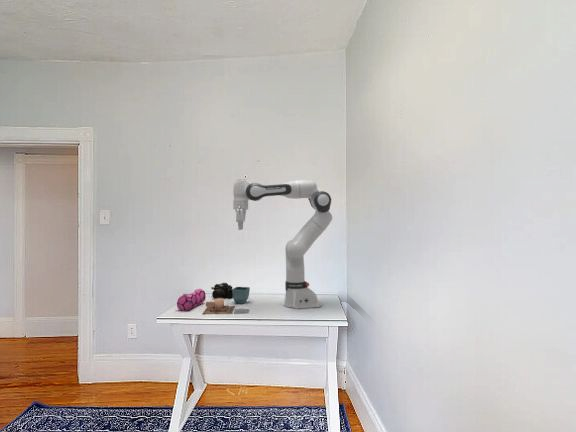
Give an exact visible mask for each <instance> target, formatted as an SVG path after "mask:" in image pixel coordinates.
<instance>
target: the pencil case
mask: <svg viewBox="0 0 576 432" xmlns="http://www.w3.org/2000/svg"><path fill="white" fill-rule="evenodd" d="M206 298H207V297H206V292H205V290H203V289H202V288H197V289H195V290H194V291H193V292H190V293H183V294H182V295H181V296H179V298H178V299H177V302H176V307H177V309H178V310H179V311H181V310H182V311H181V312H187V311H190V310H191V309H194V308H195V307H197V306H199V305H201V304H202V303H204V302H206Z"/></svg>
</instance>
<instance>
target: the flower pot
mask: <svg viewBox="0 0 576 432" xmlns="http://www.w3.org/2000/svg"><path fill="white" fill-rule="evenodd" d="M250 289H251V288H250V287H248V286H236V287H233V288H232V293H233V298H232V299H233V301H234V302H235V304H240V305H242V304H245V303H246V302H247V301H248V300H249V297H250Z"/></svg>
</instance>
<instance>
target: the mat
mask: <svg viewBox="0 0 576 432" xmlns="http://www.w3.org/2000/svg"><path fill="white" fill-rule="evenodd" d="M249 312H250V308H234V310H233V314H234V315H235V314H249Z"/></svg>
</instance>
